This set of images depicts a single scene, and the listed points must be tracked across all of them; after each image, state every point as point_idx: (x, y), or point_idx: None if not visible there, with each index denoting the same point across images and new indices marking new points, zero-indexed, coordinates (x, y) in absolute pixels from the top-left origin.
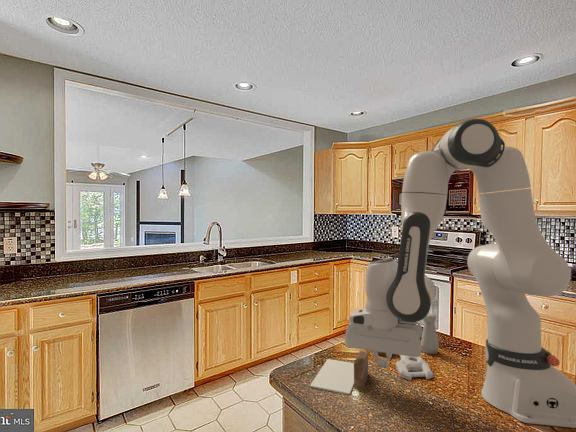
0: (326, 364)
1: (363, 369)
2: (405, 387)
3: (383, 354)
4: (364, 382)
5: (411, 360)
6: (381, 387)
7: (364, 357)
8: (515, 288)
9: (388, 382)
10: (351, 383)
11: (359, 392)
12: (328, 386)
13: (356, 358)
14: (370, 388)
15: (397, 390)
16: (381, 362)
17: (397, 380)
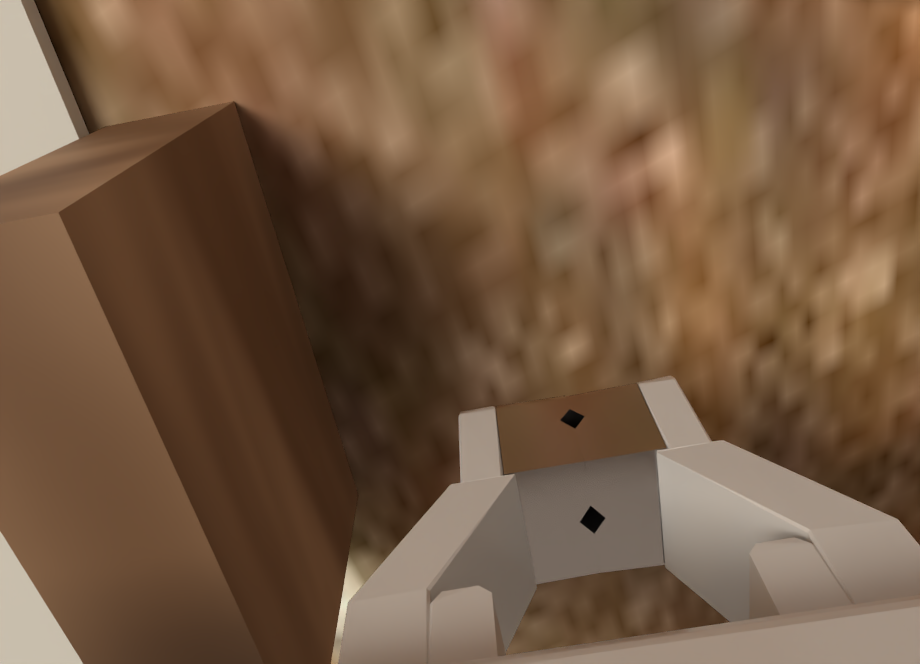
0: None
1: (309, 620)
2: (836, 220)
3: None
4: (326, 415)
5: None
6: (541, 375)
7: (179, 535)
8: None
9: (596, 208)
10: None
11: (360, 570)
12: (51, 654)
13: (75, 641)
14: (431, 455)
15: (737, 344)
16: (586, 559)
17: (713, 72)
